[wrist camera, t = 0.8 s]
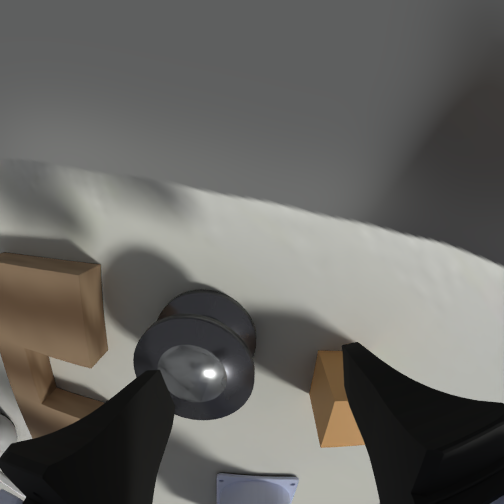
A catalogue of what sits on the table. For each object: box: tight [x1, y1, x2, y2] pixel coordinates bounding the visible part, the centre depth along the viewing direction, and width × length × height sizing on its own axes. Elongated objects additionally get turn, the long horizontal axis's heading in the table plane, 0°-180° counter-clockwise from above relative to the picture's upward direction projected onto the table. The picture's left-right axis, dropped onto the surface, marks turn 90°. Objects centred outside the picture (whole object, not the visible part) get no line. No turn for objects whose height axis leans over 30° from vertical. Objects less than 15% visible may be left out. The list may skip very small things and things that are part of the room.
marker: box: [0, 472, 26, 498], centre depth 29 cm, size 3×2×16 cm
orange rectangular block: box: [309, 350, 365, 448], centre depth 18 cm, size 4×4×6 cm
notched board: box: [0, 252, 108, 439], centre depth 21 cm, size 20×11×3 cm, turn 176°
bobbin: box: [133, 290, 256, 420], centre depth 18 cm, size 7×7×5 cm
